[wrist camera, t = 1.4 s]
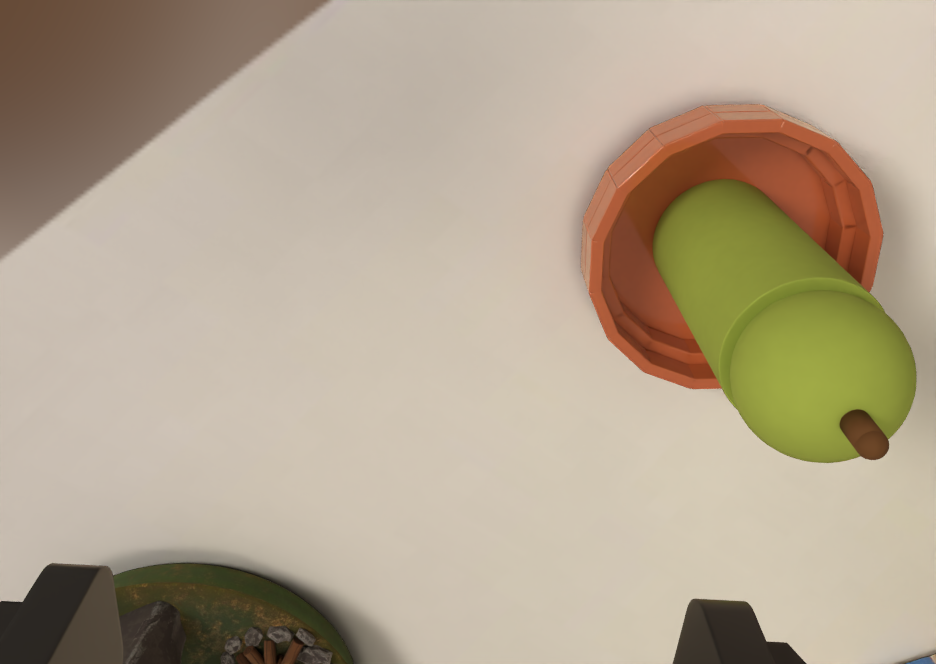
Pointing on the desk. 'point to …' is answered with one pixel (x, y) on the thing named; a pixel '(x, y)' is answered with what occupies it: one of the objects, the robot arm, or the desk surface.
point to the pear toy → (784, 325)
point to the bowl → (694, 162)
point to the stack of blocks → (925, 660)
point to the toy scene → (219, 619)
